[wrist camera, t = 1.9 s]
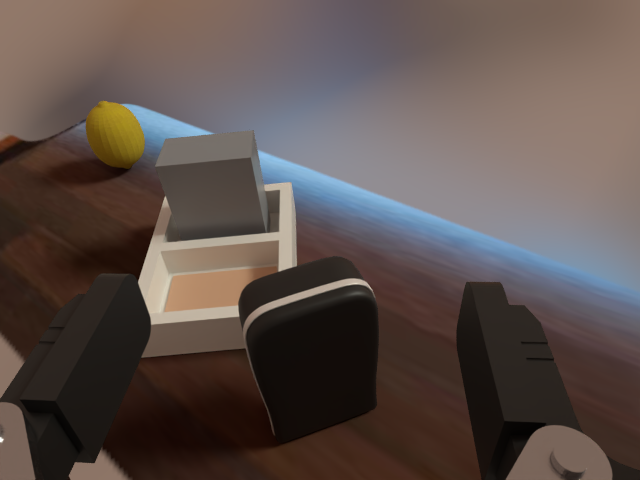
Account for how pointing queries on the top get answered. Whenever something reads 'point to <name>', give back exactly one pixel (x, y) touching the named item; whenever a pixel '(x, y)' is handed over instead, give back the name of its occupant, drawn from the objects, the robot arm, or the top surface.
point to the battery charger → (312, 344)
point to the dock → (212, 241)
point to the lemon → (115, 135)
